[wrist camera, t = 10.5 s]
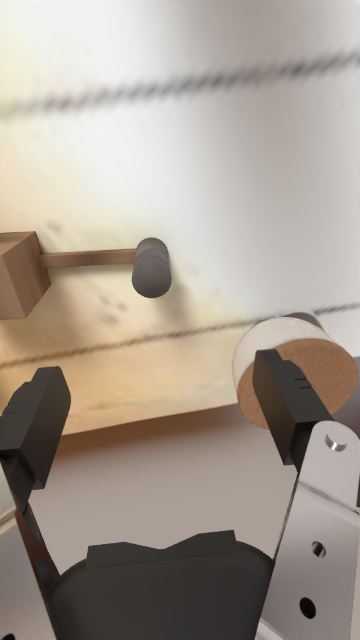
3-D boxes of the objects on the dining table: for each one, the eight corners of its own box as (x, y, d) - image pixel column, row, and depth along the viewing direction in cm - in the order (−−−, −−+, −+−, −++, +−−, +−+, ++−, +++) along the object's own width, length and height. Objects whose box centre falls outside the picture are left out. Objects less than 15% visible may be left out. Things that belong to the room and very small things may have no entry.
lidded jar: (225, 302, 28) (253, 362, 20) (327, 297, 29) (392, 354, 21) (218, 379, 34) (238, 451, 26) (303, 374, 35) (348, 442, 27)
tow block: (166, 224, 24) (169, 246, 19) (168, 277, 26) (172, 308, 21) (-53, 235, 23) (-112, 261, 18) (-28, 289, 25) (-74, 324, 20)
